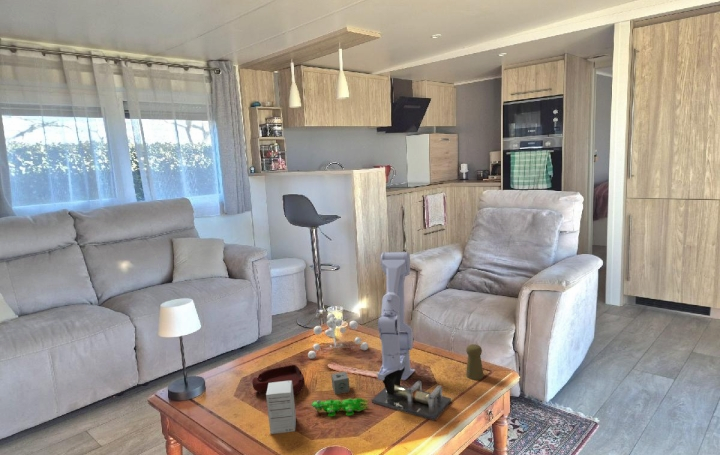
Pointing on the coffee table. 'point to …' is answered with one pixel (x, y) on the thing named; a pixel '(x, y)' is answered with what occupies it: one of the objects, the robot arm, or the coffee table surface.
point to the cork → (474, 362)
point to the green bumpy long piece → (340, 405)
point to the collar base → (415, 402)
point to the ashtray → (279, 378)
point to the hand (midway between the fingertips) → (393, 391)
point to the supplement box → (281, 407)
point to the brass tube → (416, 394)
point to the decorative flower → (332, 324)
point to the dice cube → (340, 382)
